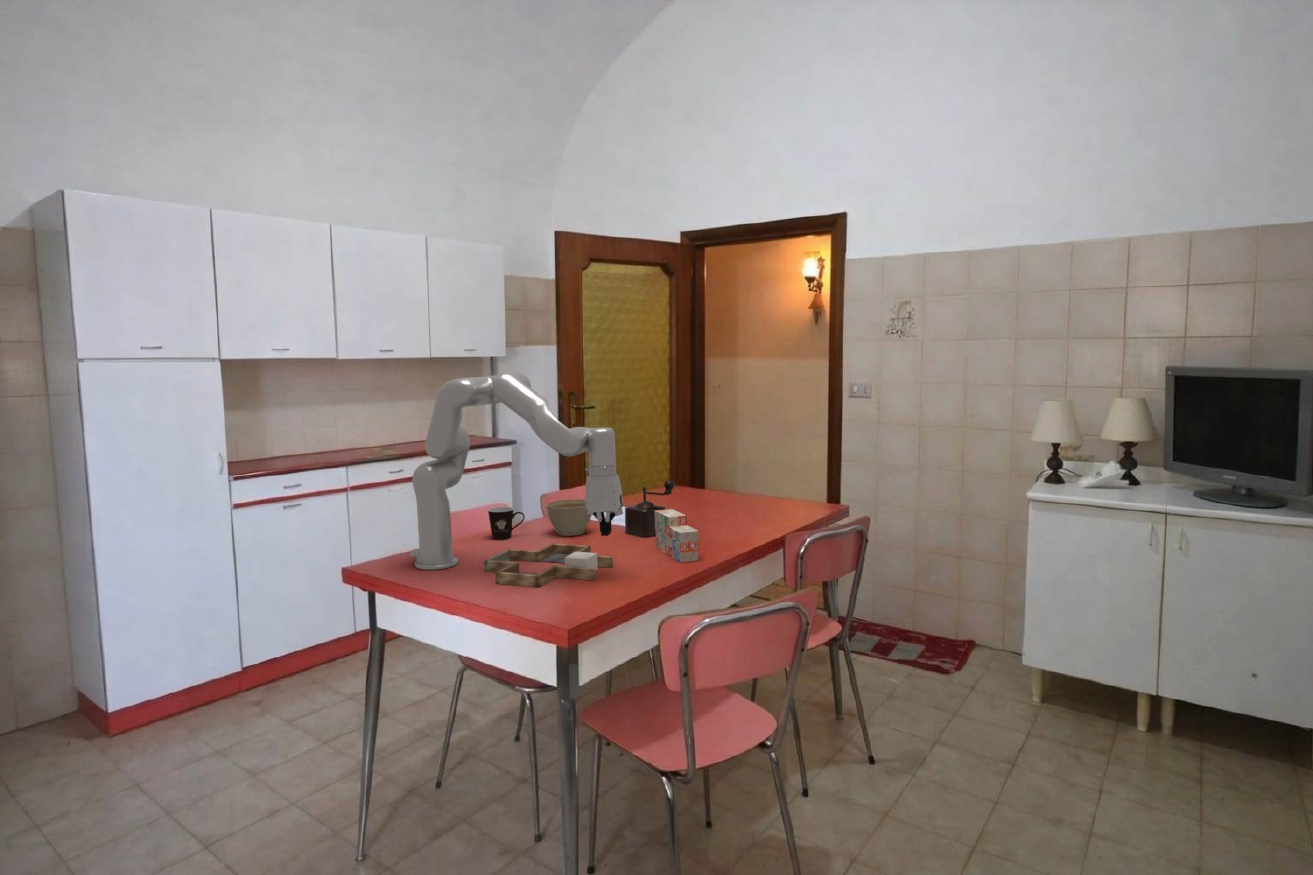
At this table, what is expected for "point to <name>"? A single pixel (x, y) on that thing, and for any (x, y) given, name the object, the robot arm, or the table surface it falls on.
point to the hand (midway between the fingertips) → (605, 534)
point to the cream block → (582, 560)
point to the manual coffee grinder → (644, 514)
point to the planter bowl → (568, 516)
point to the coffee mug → (502, 522)
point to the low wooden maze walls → (550, 553)
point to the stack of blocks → (675, 535)
